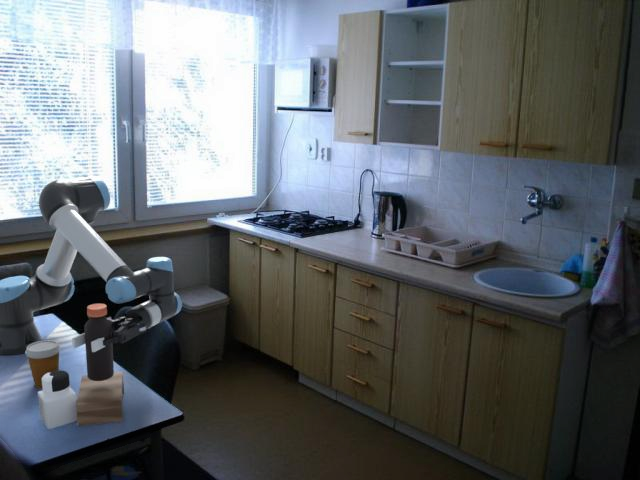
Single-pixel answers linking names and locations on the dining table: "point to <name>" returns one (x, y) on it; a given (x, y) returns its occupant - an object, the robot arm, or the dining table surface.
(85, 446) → the dining table surface
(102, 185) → the robot arm
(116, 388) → the wooden block
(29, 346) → the disposable coffee cup
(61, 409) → the container
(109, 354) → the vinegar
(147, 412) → the dining table surface
